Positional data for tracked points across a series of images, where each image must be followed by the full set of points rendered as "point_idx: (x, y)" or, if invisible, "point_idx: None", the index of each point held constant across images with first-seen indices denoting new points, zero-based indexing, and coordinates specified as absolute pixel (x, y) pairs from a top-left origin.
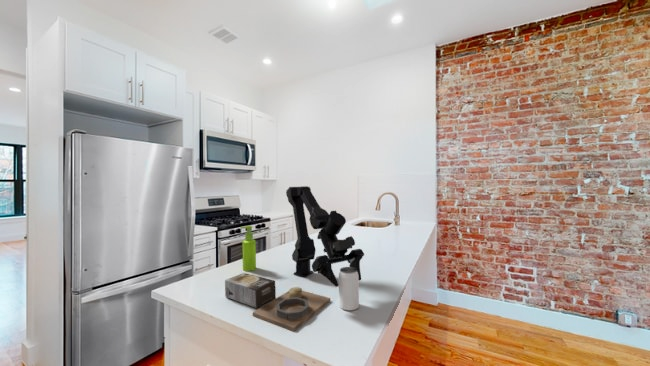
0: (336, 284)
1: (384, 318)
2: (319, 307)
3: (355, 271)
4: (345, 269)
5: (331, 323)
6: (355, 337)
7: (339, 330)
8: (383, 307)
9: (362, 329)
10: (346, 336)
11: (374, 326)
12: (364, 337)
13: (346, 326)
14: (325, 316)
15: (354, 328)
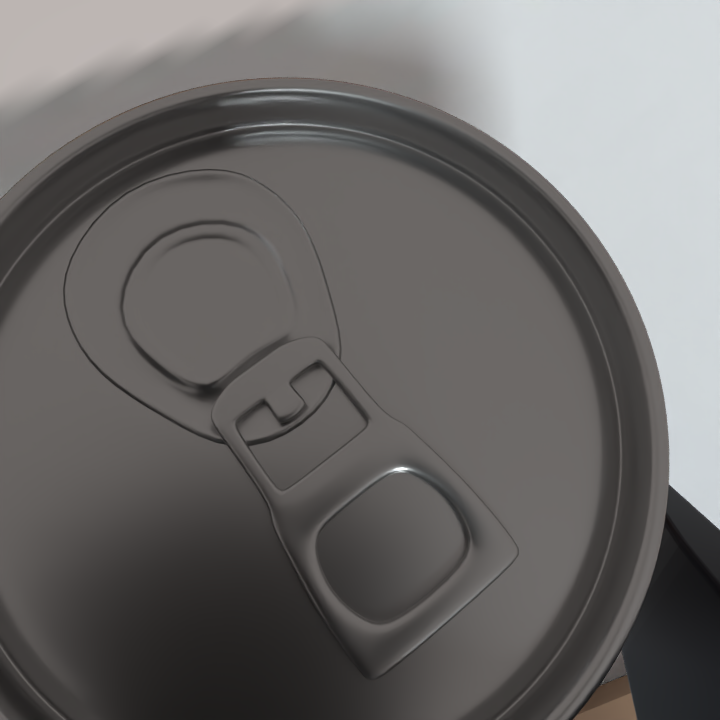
0: (675, 506)
1: (214, 42)
2: None
3: (156, 187)
4: (274, 645)
5: (705, 344)
6: (661, 51)
7: (711, 209)
8: (12, 170)
9: (530, 79)
10: (714, 110)
11: (406, 33)
12: (600, 3)
13: (617, 208)
14: (680, 494)
15: (578, 137)
